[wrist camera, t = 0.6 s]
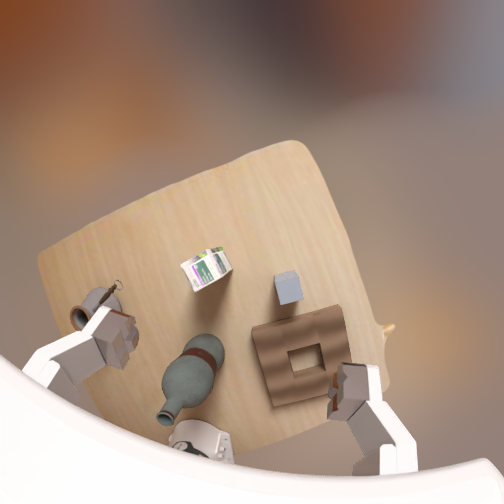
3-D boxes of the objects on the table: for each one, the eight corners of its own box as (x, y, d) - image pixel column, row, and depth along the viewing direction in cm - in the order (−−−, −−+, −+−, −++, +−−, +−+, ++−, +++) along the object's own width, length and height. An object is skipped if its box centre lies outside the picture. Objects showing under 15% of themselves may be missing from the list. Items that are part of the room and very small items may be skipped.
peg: (299, 289, 62) (303, 298, 52) (279, 294, 63) (280, 305, 53) (294, 270, 62) (298, 276, 52) (274, 275, 63) (274, 282, 53)
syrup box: (234, 268, 63) (222, 277, 49) (211, 281, 64) (194, 293, 49) (221, 246, 63) (206, 248, 49) (199, 259, 64) (178, 265, 49)
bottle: (191, 366, 65) (144, 438, 35) (185, 331, 65) (129, 392, 35) (229, 365, 65) (200, 444, 35) (224, 330, 64) (188, 396, 34)
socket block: (351, 377, 62) (355, 385, 59) (273, 398, 64) (273, 406, 60) (337, 304, 62) (341, 308, 58) (252, 326, 64) (251, 332, 60)
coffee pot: (107, 335, 67) (75, 354, 52) (84, 300, 67) (49, 312, 52) (161, 294, 65) (133, 309, 50) (135, 255, 65) (102, 259, 50)
